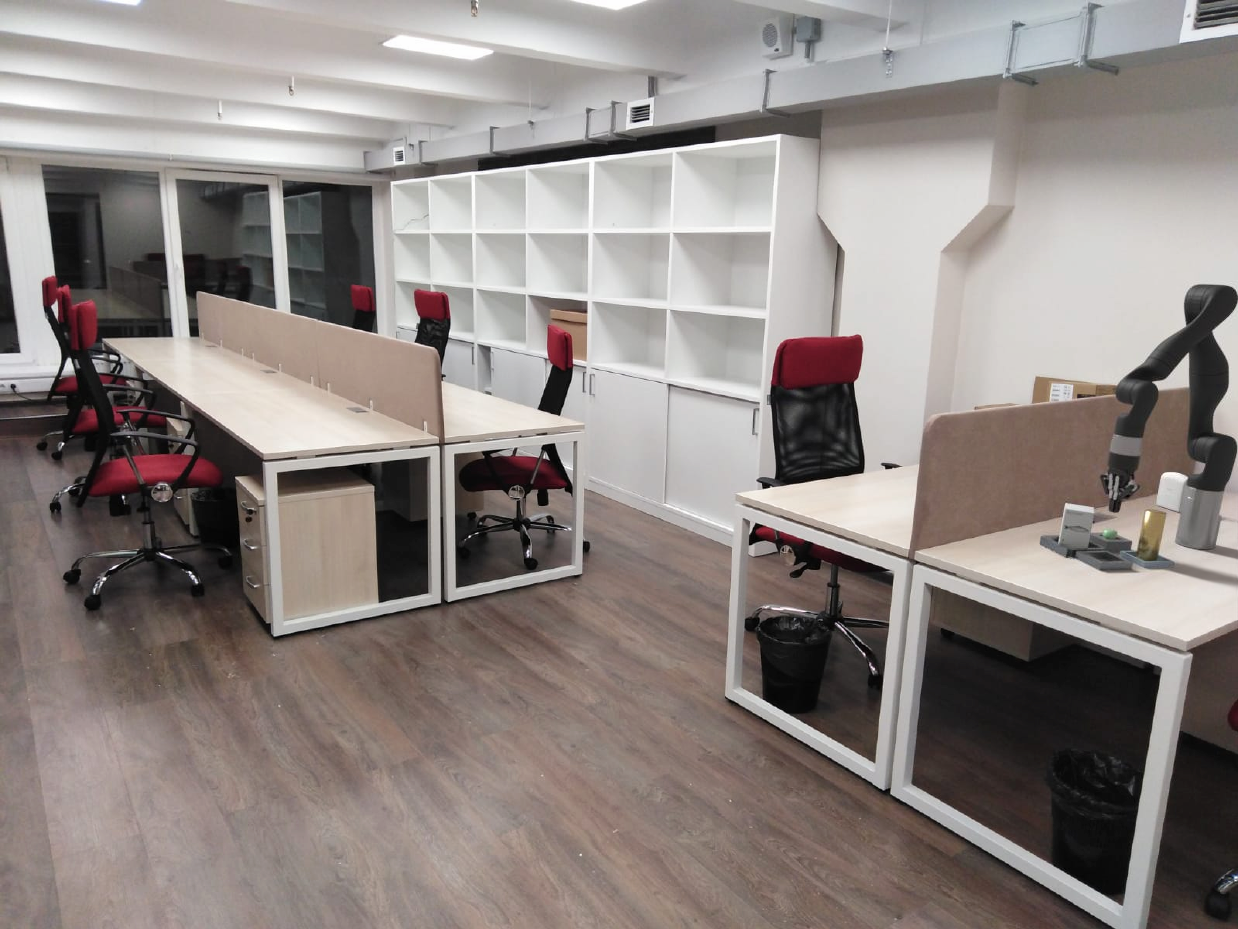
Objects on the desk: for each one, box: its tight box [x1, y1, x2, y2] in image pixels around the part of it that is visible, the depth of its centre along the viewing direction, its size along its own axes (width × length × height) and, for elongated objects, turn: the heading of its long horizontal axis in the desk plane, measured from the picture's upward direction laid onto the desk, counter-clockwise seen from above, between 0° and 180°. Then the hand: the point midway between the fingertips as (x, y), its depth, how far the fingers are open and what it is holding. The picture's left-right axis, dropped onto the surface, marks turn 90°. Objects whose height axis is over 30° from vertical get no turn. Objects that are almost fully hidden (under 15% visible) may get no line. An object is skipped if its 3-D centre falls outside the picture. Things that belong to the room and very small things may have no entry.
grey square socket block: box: [1089, 532, 1133, 553], centre depth 245 cm, size 8×8×4 cm
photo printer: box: [1155, 471, 1189, 513], centre depth 290 cm, size 10×4×12 cm, turn 13°
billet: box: [1136, 508, 1167, 561], centre depth 232 cm, size 5×5×14 cm
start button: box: [1102, 528, 1118, 539], centre depth 244 cm, size 3×3×3 cm
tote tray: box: [1118, 550, 1175, 569], centre depth 234 cm, size 9×9×2 cm
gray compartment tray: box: [1039, 534, 1134, 572], centre depth 237 cm, size 12×23×2 cm, turn 10°
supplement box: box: [1058, 502, 1095, 548], centre depth 240 cm, size 7×7×13 cm
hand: (1113, 511), depth 243 cm, fingers closed
